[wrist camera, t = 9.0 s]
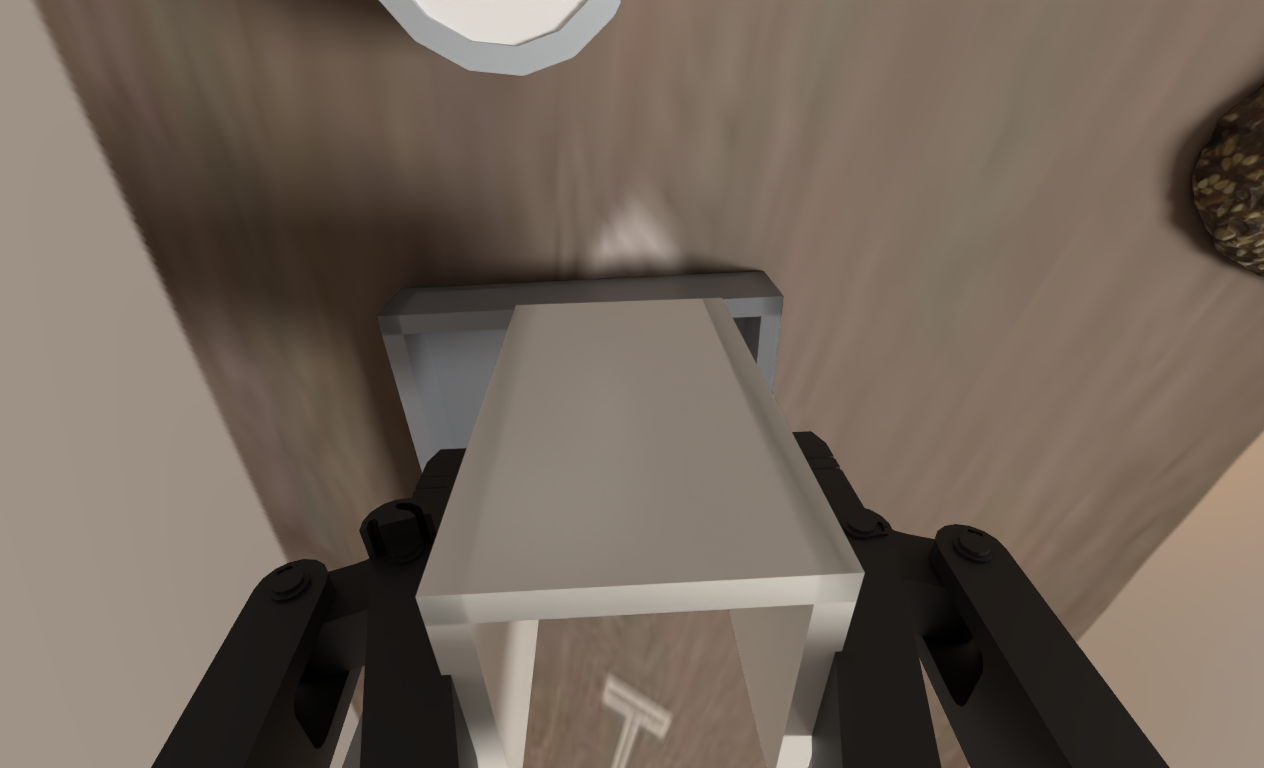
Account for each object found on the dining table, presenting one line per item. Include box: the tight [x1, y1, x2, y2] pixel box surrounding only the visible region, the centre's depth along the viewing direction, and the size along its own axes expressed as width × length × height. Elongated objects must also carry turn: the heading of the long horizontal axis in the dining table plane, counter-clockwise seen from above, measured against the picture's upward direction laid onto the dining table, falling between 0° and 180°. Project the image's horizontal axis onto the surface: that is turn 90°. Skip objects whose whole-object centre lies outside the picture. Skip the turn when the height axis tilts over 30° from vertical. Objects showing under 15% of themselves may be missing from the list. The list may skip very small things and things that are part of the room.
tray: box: [376, 271, 784, 473], centre depth 27 cm, size 18×16×3 cm
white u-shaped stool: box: [416, 298, 865, 768], centre depth 13 cm, size 6×6×10 cm
